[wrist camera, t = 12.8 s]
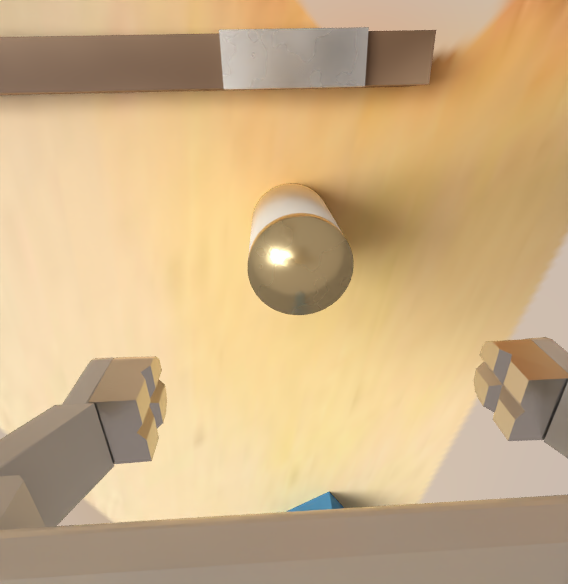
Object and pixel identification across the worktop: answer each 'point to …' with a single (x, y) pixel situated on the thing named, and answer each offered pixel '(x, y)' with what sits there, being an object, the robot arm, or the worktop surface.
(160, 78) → the walnut fence
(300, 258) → the round canister
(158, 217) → the worktop surface
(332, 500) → the perfume bottle
